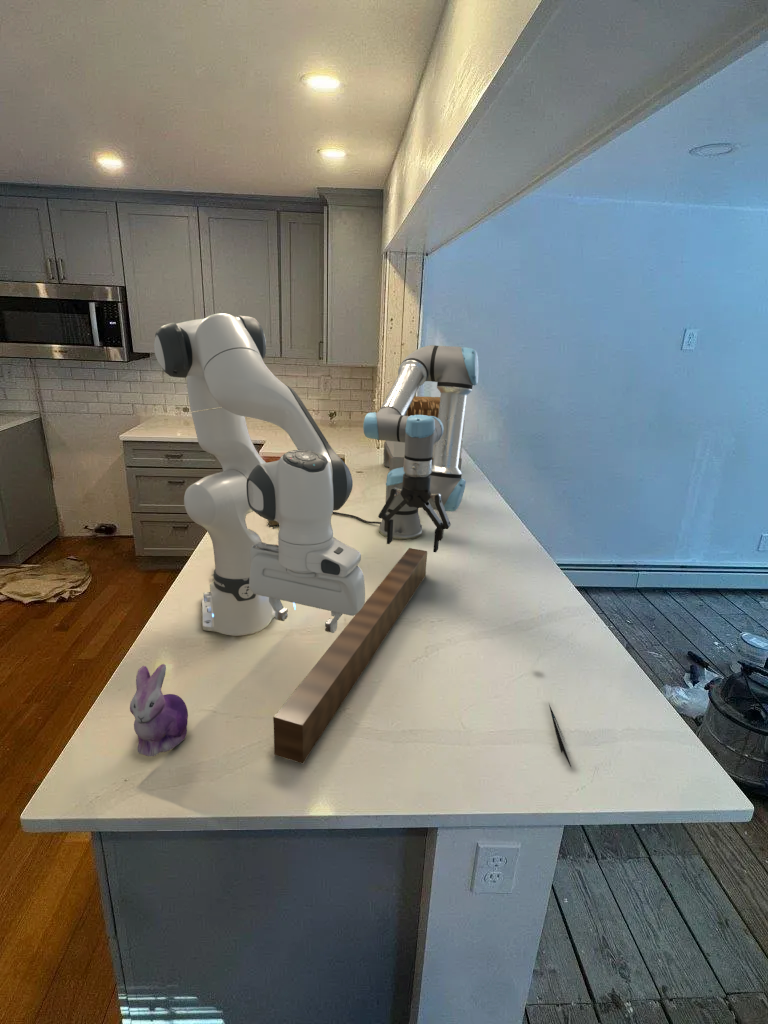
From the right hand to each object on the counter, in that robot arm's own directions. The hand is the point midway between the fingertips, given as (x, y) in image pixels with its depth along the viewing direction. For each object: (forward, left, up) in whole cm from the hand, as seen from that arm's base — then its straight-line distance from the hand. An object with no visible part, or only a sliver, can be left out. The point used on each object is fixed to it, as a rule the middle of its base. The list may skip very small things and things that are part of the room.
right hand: (412, 546), depth 160 cm
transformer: (-83, +84, -12) cm, 119 cm away
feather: (+58, -16, -12) cm, 62 cm away
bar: (+16, -28, -12) cm, 35 cm away
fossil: (-67, 0, -12) cm, 68 cm away
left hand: (+33, -57, +11) cm, 67 cm away
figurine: (+18, -78, -12) cm, 81 cm away
